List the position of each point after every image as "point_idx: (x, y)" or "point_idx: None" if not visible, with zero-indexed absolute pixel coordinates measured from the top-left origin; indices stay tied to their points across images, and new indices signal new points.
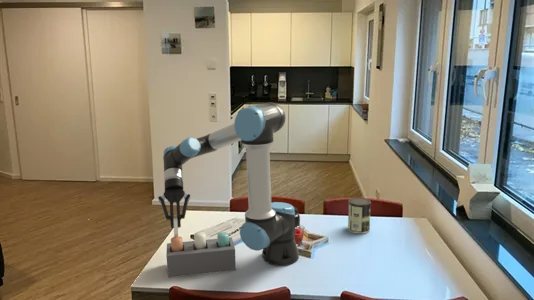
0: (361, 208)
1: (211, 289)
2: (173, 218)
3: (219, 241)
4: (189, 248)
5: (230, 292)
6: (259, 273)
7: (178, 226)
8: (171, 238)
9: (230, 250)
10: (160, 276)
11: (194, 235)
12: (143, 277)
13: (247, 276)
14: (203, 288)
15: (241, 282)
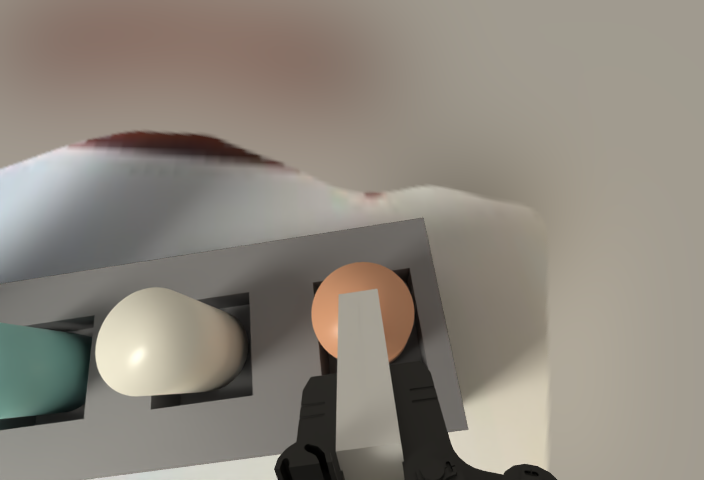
0: None
1: (221, 164)
2: (405, 475)
3: (44, 336)
4: (278, 317)
5: (155, 144)
6: (10, 274)
7: (332, 379)
8: (409, 323)
9: (27, 281)
10: (454, 277)
11: (195, 319)
12: (539, 272)
13: (65, 252)
14: (251, 172)
15: (100, 208)
